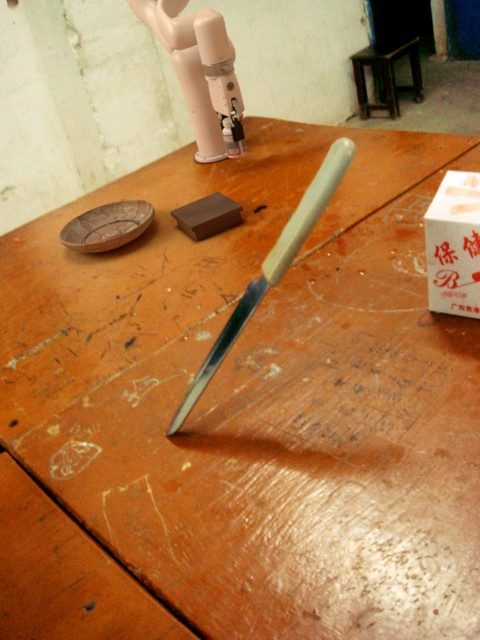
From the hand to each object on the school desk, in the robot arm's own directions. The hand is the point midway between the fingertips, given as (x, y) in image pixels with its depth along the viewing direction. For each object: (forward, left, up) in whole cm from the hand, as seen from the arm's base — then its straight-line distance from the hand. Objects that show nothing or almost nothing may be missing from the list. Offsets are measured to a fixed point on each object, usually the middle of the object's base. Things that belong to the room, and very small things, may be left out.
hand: (233, 137), depth 169 cm
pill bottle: (0, 0, -5) cm, 5 cm away
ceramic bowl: (+10, -41, -9) cm, 43 cm away
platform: (+24, -21, -9) cm, 33 cm away
